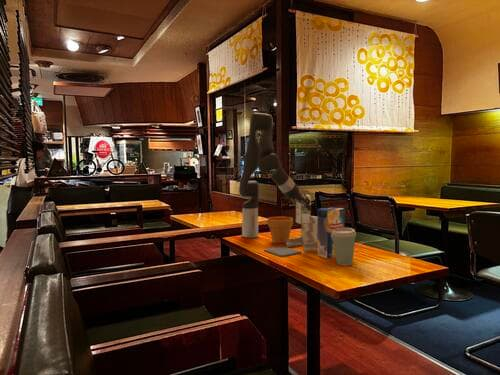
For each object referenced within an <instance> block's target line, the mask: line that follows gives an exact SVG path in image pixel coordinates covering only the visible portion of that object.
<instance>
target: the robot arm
mask: <svg viewBox="0 0 500 375" xmlns="http://www.w3.org/2000/svg"><path fill="white" fill-rule="evenodd" d="M248 131H249V133H248V142H247V144H246V145H247V147H246V151H245V158H244V164H243V170H242V176H241V177H240V178H241V179H240V181H239V182H240V183H239V189H238V190H239V195H240V196H241V197H245V198H247V197H250V199H248V200H247V201H245V202H242V205H241V206H242V208H241V209H242V210H241V211H242V220H241V236H242V237H244V238H249V239H250V238H252V239H253V238H258V237H259V193H260V192H259V191H260V190H259V189H260V188H259V186H260V185H259V182H257V181H256V180H250V178H251V177H252V175H253V174H254V173H255V172H256V171H257V170H259V172H261V173H263V174H268V173H269V172H271V171H272V172H271V175H270V177H271V179H272V181H273V182H274V183H275V184H276V185H277V187H278V189H279V190H280V191H281V192H282V194H283V195H284V197H285V198H286V200H288V201H289V203H290V204H293V205H295V206H296V202H297V201H298V202H299V203H300V204H303V205H304V206H305V207H306V208H307V209H308V210H309V211H310V210H312V206H310V200H309V199H308V197H307V196H306V195H307V194H301V193H300V188H299V187H298V185H297V184H296V183H295V182H294V180H293V179H292V178H291V177H290V176H289V175H288V174H287V172H286V171H285V168H284V167H283V165H282V163H281V160H280V158H279V156H278V155H277V154H276V153H275V148H274V144H273V118H272V115H271V114H269V113H261V112H253V113H252V114H251V117H250V124H249V130H248ZM258 131H259V132H265V133H264V134H263V135H262V136H261V137H260V139H259V141H258V139H257V136H256V135H257V134H256V132H258ZM273 170H274V171H273ZM301 200H302V202H301Z"/></svg>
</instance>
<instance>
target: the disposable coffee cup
mask: <svg viewBox="0 0 500 375" xmlns="http://www.w3.org/2000/svg"><path fill="white" fill-rule="evenodd" d="M331 235H332V239H333V245H334V251H335V256H336V257H335V260H336V264H337V265H338V266H339V265H340V266H344V267H345V266H351V265H352V264H353V260H354V253H355V245H356V237H357V232H356V230H355V229H354V228H352V227H345V228H336V229H334V230H333V231H332V234H331Z"/></svg>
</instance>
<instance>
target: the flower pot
mask: <svg viewBox="0 0 500 375" xmlns="http://www.w3.org/2000/svg"><path fill="white" fill-rule="evenodd" d="M266 220H267V222H266V223H267V226H268V227H269V231H270V235H271V240H272V242H273V243H275V244H286V239H290V235H291V229H292V227H293V225H294V218H293V217H291V216H270V217H268V218H267V219H266Z"/></svg>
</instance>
